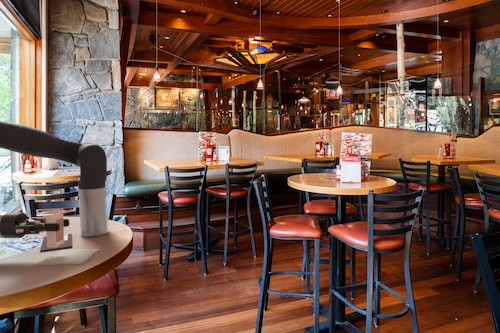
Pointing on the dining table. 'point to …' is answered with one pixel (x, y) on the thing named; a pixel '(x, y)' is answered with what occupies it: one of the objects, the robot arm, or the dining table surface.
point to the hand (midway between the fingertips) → (63, 224)
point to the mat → (69, 256)
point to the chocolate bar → (65, 245)
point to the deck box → (55, 236)
